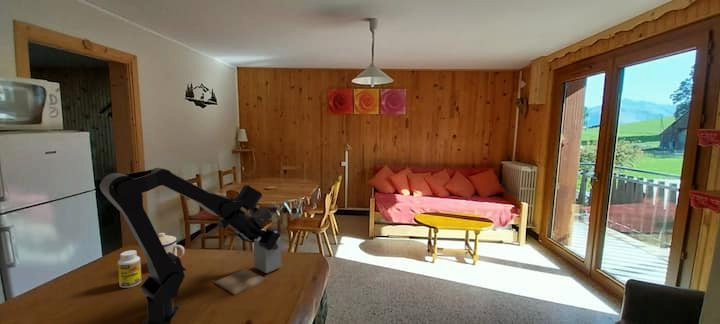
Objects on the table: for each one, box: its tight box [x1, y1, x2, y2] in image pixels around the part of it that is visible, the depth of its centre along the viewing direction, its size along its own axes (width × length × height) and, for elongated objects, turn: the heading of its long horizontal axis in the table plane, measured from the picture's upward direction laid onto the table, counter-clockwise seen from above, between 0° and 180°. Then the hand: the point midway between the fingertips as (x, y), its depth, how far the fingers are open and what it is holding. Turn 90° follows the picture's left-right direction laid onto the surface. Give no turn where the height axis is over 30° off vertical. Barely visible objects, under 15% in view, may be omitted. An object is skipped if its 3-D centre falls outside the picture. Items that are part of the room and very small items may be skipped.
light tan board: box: [214, 268, 267, 296], centre depth 97 cm, size 11×11×1 cm
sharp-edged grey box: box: [253, 237, 282, 274], centre depth 105 cm, size 6×6×10 cm
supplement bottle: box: [117, 249, 142, 289], centre depth 94 cm, size 6×6×10 cm
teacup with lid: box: [157, 232, 185, 259], centre depth 107 cm, size 12×9×12 cm
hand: (270, 245), depth 106 cm, fingers closed on sharp-edged grey box, 6 cm apart
